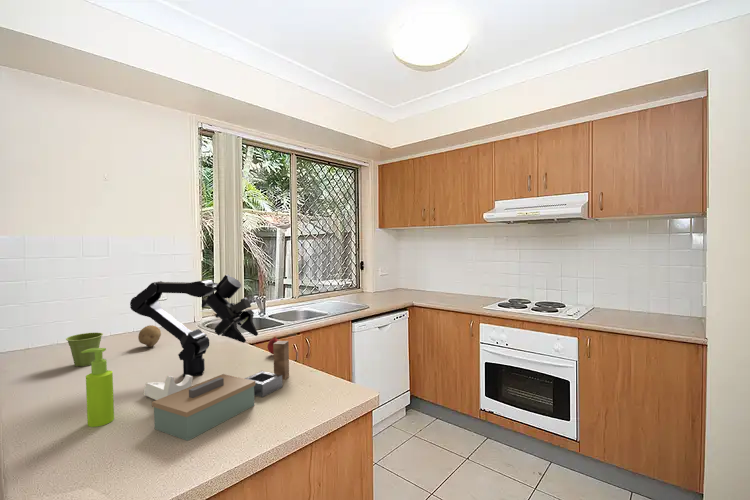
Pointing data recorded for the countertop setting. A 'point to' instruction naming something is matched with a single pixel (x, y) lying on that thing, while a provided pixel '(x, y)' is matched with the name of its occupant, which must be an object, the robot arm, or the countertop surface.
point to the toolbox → (203, 406)
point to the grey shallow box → (266, 383)
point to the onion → (270, 344)
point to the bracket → (166, 387)
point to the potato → (149, 335)
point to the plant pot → (84, 347)
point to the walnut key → (281, 358)
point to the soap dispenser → (99, 391)
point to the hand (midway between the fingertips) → (251, 338)
